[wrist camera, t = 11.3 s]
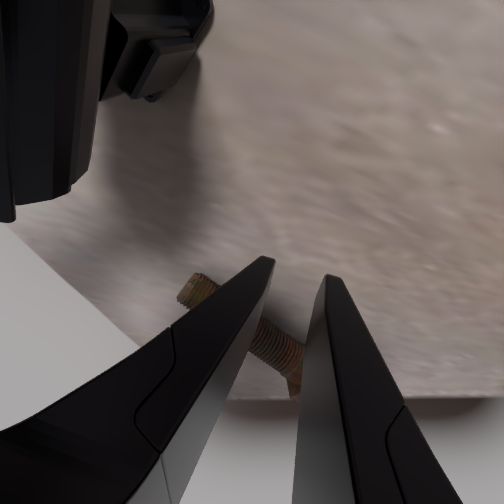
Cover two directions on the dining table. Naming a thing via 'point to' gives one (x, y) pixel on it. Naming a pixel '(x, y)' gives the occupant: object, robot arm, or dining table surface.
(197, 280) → the bolt
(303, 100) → the dining table surface
